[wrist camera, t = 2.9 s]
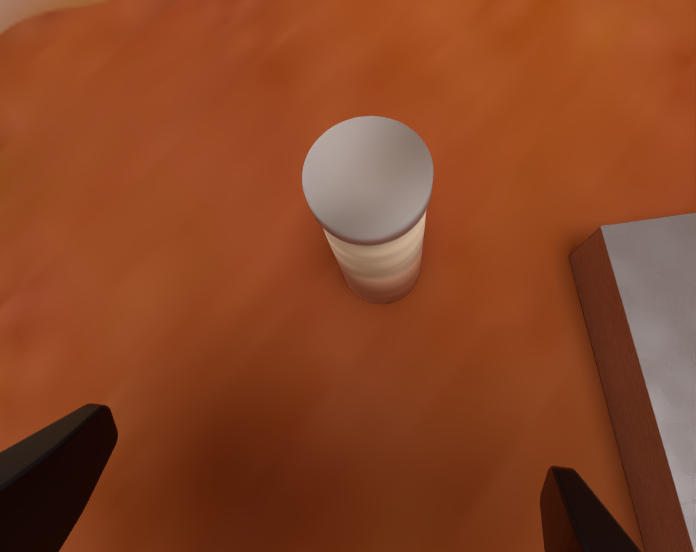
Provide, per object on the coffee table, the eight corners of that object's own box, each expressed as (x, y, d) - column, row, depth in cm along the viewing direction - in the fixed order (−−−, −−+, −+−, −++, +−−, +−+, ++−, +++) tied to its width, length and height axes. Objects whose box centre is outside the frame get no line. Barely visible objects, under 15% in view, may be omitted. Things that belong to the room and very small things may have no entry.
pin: (327, 285, 25) (278, 204, 15) (363, 217, 25) (338, 99, 16) (401, 319, 24) (398, 255, 14) (435, 247, 24) (454, 141, 15)
